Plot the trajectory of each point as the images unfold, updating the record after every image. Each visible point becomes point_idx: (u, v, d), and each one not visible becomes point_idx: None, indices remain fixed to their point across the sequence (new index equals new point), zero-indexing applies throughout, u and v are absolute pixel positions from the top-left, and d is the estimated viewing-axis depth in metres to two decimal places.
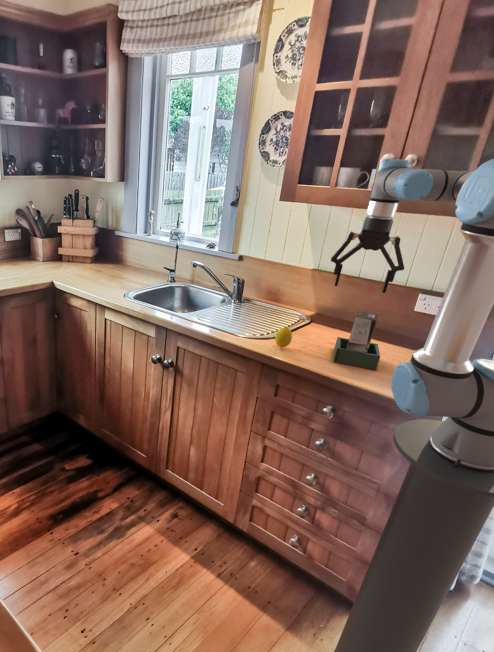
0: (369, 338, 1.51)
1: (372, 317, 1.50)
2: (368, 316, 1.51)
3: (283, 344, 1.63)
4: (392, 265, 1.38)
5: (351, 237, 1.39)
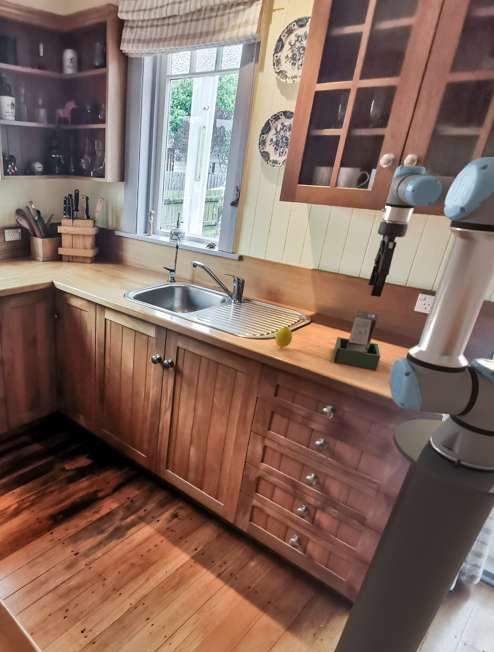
0: (369, 338, 1.51)
1: (372, 317, 1.50)
2: (368, 316, 1.51)
3: (283, 344, 1.63)
4: None
5: (394, 246, 1.37)
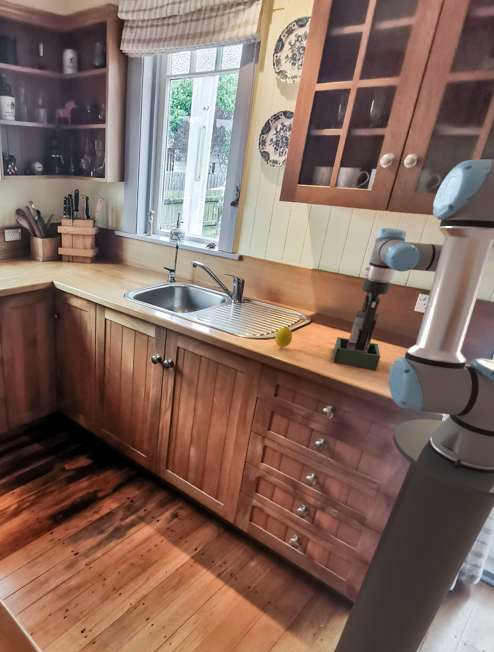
0: (369, 338, 1.51)
1: None
2: None
3: (283, 344, 1.63)
4: None
5: (377, 305, 1.45)
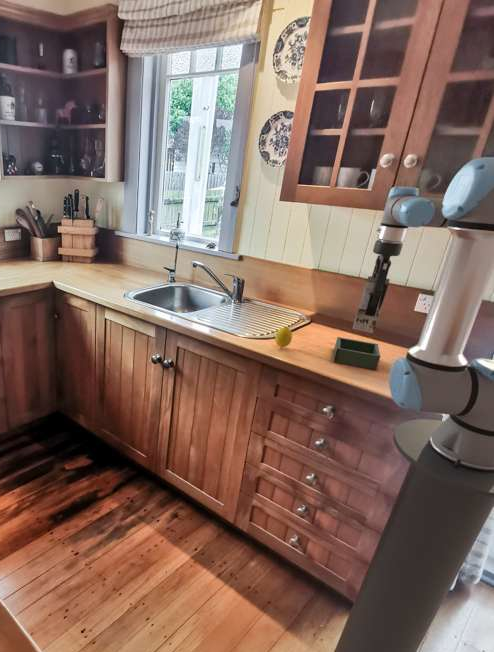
0: (380, 303, 1.45)
1: None
2: None
3: (283, 344, 1.63)
4: None
5: None
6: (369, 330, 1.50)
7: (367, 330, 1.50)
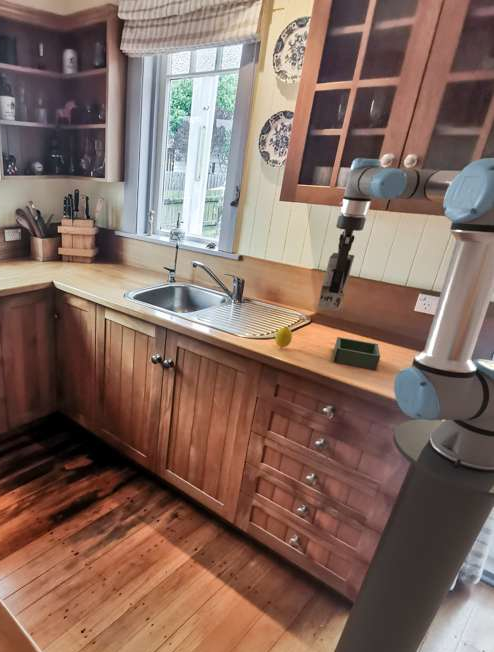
0: (344, 280, 1.42)
1: None
2: None
3: (283, 344, 1.63)
4: None
5: (351, 242, 1.36)
6: (333, 308, 1.46)
7: (331, 308, 1.47)
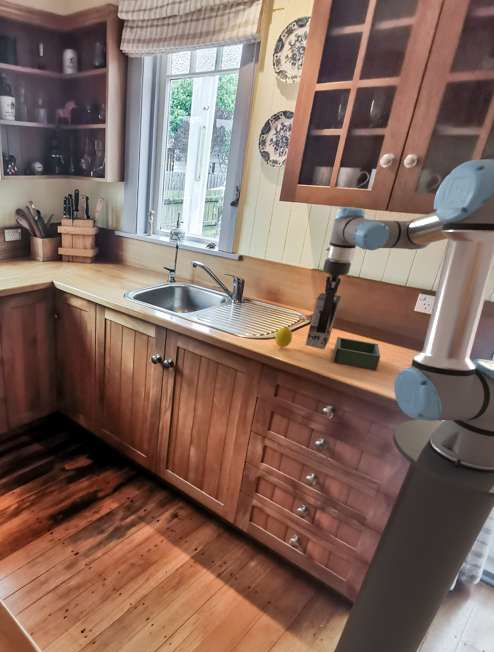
0: (330, 321, 1.48)
1: None
2: None
3: (283, 344, 1.63)
4: None
5: (337, 286, 1.42)
6: (320, 346, 1.52)
7: (319, 346, 1.52)
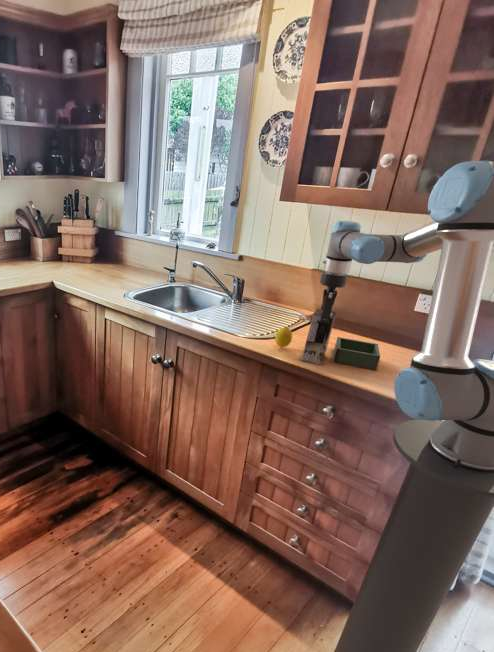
0: (326, 336, 1.50)
1: None
2: None
3: (283, 344, 1.63)
4: None
5: (334, 297, 1.43)
6: (317, 361, 1.55)
7: (315, 361, 1.55)
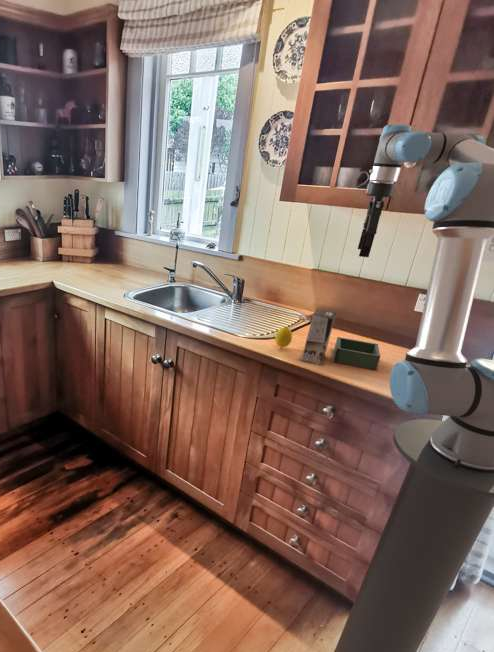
0: (326, 336, 1.50)
1: (329, 315, 1.50)
2: (325, 314, 1.51)
3: (283, 344, 1.63)
4: None
5: (382, 206, 1.38)
6: (317, 361, 1.55)
7: (315, 361, 1.55)
